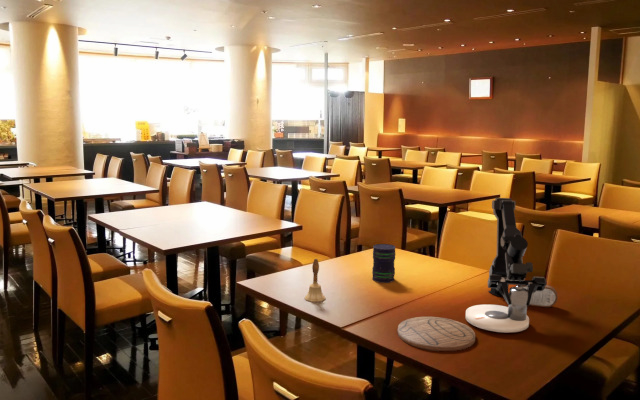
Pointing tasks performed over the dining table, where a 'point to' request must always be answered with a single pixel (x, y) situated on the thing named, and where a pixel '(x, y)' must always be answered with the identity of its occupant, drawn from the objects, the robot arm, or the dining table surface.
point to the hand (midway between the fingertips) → (518, 304)
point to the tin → (543, 297)
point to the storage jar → (383, 263)
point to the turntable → (494, 319)
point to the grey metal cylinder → (518, 303)
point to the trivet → (436, 334)
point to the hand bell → (315, 286)
